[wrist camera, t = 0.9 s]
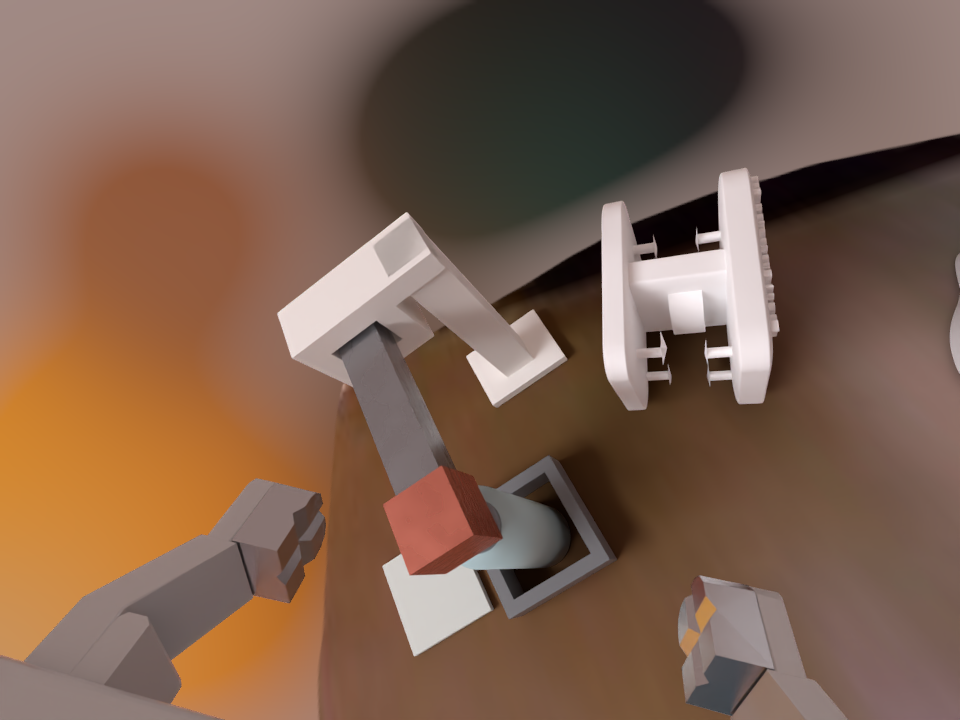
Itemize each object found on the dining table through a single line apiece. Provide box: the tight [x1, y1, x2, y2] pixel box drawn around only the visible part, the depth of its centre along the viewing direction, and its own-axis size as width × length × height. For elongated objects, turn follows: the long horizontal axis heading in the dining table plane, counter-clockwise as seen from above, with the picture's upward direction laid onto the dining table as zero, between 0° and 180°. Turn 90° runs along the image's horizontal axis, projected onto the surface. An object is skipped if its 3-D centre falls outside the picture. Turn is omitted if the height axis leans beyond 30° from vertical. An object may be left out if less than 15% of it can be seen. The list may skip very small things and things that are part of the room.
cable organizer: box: [601, 168, 779, 410], centre depth 39 cm, size 15×11×12 cm
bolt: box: [338, 321, 503, 575], centre depth 33 cm, size 4×21×4 cm, turn 28°
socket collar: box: [487, 455, 617, 619], centre depth 42 cm, size 9×9×3 cm
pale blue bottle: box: [461, 486, 571, 570], centre depth 38 cm, size 5×5×14 cm
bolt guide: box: [278, 212, 568, 407], centre depth 42 cm, size 14×6×21 cm, turn 118°
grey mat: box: [383, 554, 494, 656], centre depth 45 cm, size 8×8×1 cm
